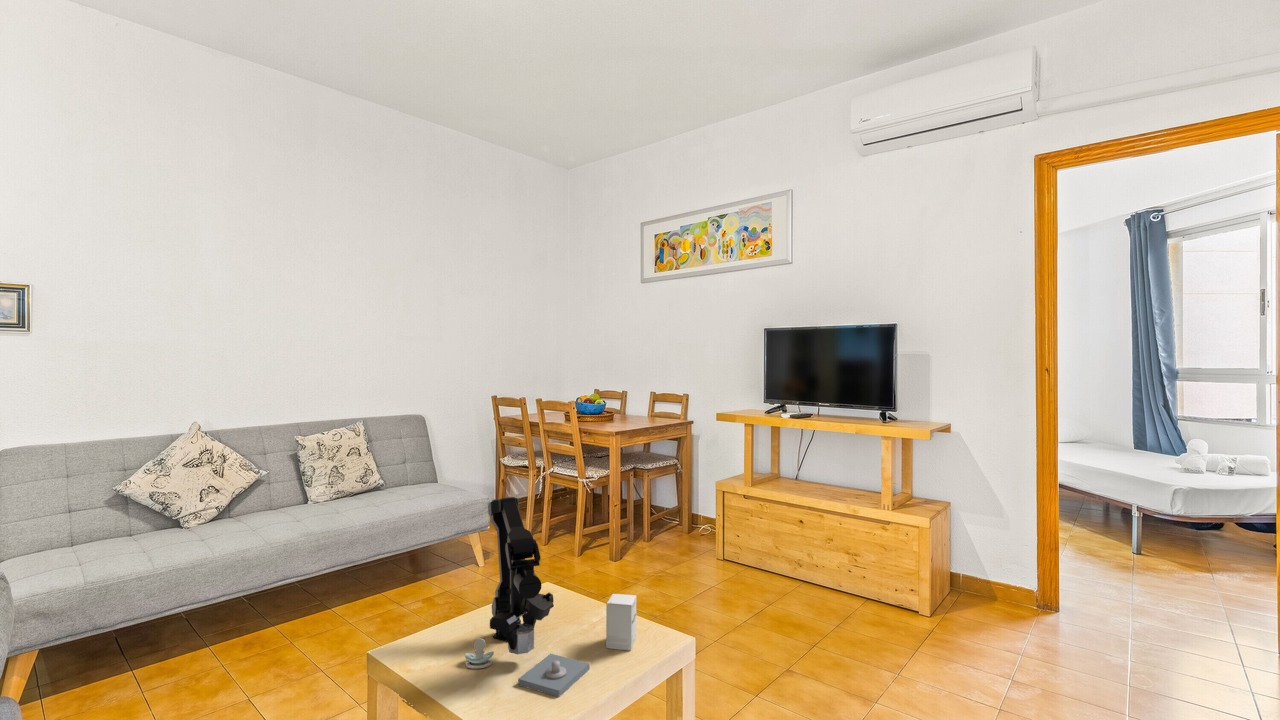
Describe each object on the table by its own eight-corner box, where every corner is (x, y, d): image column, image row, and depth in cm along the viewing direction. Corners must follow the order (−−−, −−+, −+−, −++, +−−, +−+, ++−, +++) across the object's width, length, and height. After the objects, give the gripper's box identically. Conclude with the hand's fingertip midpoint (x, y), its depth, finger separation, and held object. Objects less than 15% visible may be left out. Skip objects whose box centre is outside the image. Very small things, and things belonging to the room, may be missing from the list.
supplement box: (631, 651, 163) (631, 605, 163) (605, 648, 164) (605, 602, 164) (637, 638, 170) (637, 594, 170) (612, 636, 171) (612, 592, 171)
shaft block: (518, 684, 146) (518, 667, 146) (550, 659, 158) (550, 643, 158) (559, 696, 140) (559, 678, 140) (589, 669, 153) (589, 652, 153)
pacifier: (492, 669, 153) (494, 657, 159) (492, 645, 153) (494, 634, 159) (463, 671, 152) (466, 659, 158) (462, 647, 152) (466, 636, 158)
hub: (503, 650, 155) (503, 631, 155) (518, 640, 160) (518, 621, 160) (523, 656, 152) (523, 636, 152) (538, 645, 158) (538, 626, 158)
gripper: (524, 603, 144) (524, 667, 144) (566, 577, 161) (566, 635, 161) (488, 595, 149) (488, 657, 149) (532, 571, 166) (532, 627, 166)
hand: (521, 643), depth 156 cm, fingers closed on hub, 6 cm apart
